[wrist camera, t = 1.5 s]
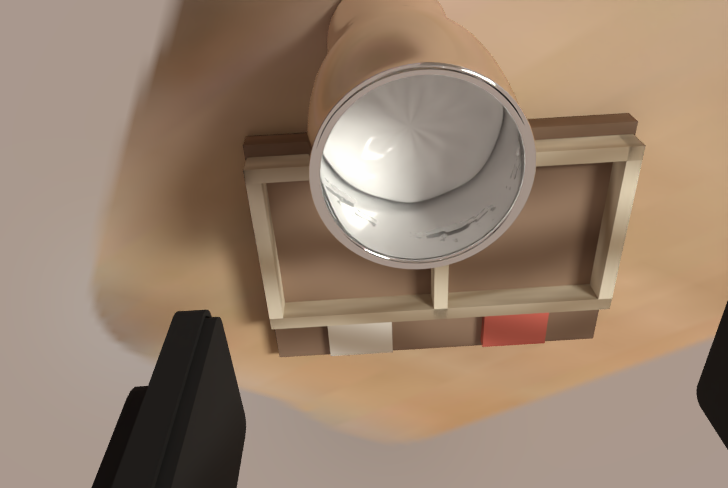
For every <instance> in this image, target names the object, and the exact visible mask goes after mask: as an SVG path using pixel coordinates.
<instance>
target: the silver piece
mask: <svg viewBox="0 0 728 488" xmlns="http://www.w3.org/2000/svg"><path fill="white" fill-rule="evenodd" d="M327 50H328V53H327V55H326V57H325V59H324V60H323V62H322V64H321V66H320V68H319V70H318V73H317V75H316V78H315V81H314V85H313V89H312V93H311V98H310V103H309V109H308V126H307V142H308V157H309V185H310V191H311V195H312V199H313V202H314V205H315V207H316V210H317V212H318V214H319V216H320V218H321V219H322V221H323V223H324V224H325V226H326V227H327V228H328V230H329V231H330V232H331V233H332V234H333V235H334V237H335V238H336V239H337V240H338V241H340V242H341V243H342V244H343V245H344V246H346V247H347V248H348V249H350V250H351V251H353V252H354V253H356V254H358V255H359V256H361V257H363V258H365V259H367V260H370V261H372V262H375V263H378V264H381V265H385V266H389V267H394V268H401V269H429V268H436V267H441V266H446V265H449V264H453V263H456V262H459V261H461V260H464V259H466V258H468V257H470V256H473V255H474V254H476V253H478V252H480V251H481V250H483V249H485V248H486V247H488V246H489V245H490V244H492V243H493V242H494V241H496V240H497V239H498V238H499V237H500V236H501V235H502V234H503V233H504V232H505V231H506V230H507V229H508V228H509V227H510V226H511V225H512V224H513V222H514V221H515V220H516V218H517V217H518V215H519V214H520V212H521V211H522V209H523V207H524V206H525V204H526V202H527V199H528V197H529V195H530V192H531V189H532V186H533V182H534V178H535V172H536V146H535V140H534V136H533V132H532V129H531V126H530V124H529V121H528V119H527V117H526V115H525V113H524V112H523V110H522V108H521V107H520V105H519V103H518V101H517V99H516V96H515V94H514V92H513V90H512V88H511V86H510V84H509V82H508V80H507V78H506V76H505V75H504V73H503V71H502V70H501V68H500V67H499V65H498V63H497V62H496V60H495V59H494V57H493V56H492V55H491V53H490V52H489V51H488V50H487V49H486V48H485V47H484V46H483V44H482V43H481V42H480V41H479V40H478V39H477V38H476V37H475V36H474V35H473V34H472V33H471V32H469V31H468V30H467V29H466V28H464V27H463V26H461V25H460V24H458V23H456V22H455V21H453V20H451V19H449V18H447V17H446V14H445V12H444V10H443V8H442V6H441V4H440V3H439V1H438V0H342V1H341V2H340V3H339V5H338V6H337V8H336V9H335V11H334V13H333V15H332V18H331V21H330V24H329V28H328V34H327Z"/></svg>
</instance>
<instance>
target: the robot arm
mask: <svg viewBox="0 0 728 488" xmlns="http://www.w3.org/2000/svg"><path fill="white" fill-rule="evenodd" d="M697 399H698V402H699V405H700V407H701V409H702V410H703V412H704V413H705V415H706V416H707V418H708V419H709V421H710V423H711V424H712V426H713V427H714V429H715V430H716V432H717V434H718V435H719V437H720V438H721V440H722V441H723V443H724V444H725V446H726V448H727V449H728V301H727V304H726V307H725V310H724V313H723V315H722V318H721V321H720V324H719V327H718V329H717V332H716V335H715V338H714V341H713V343H712V346H711V349H710V352H709V355H708V358H707V360H706V363H705V366H704V369H703V371H702V375H701V377H700V380H699V383H698V385H697ZM245 433H246V419H245V413H244V409H243V405H242V401H241V397H240V393H239V388H238V384H237V380H236V376H235V372H234V368H233V364H232V360H231V356H230V352H229V348H228V344H227V340H226V336H225V332H224V328H223V324H222V320H221V318H220V317H212V316H211V314H210V312H209V310H194V311H178V312H176V313H175V315H174V316H173V319H172V322H171V324H170V327H169V330H168V333H167V336H166V338H165V341H164V344H163V347H162V349H161V352H160V355H159V358H158V360H157V363H156V366H155V369H154V371H153V374H152V377H151V380H150V382H149V386H140V387H134V388H133V389H132V390H131V391H130V393H129V396H128V397H127V399H126V402H125V404H124V407H123V409H122V412H121V414H120V417H119V419H118V422H117V425H116V427H115V430H114V432H113V435H112V437H111V440H110V442H109V445H108V448H107V450H106V452H105V455H104V457H103V460H102V463H101V465H100V468H99V470H98V473H97V475H96V478H95V480H94V483H93V486H92V488H237V482H238V476H239V470H240V464H241V458H242V451H243V446H244V440H245Z"/></svg>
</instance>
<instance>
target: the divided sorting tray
mask: <svg viewBox="0 0 728 488" xmlns="http://www.w3.org/2000/svg"><path fill="white" fill-rule="evenodd" d="M528 121H529V124H530V126H531V129H532V132H533V136H534V140H535V146H536V172H535V178H534V182H533V186H532V189H531V192H530V195H529V197H528V199H527V202H526V204H525V206H524V207H523V209H522V211H521V212H520V214H519V215H518V217H517V218H516V220H515V221H514V222H513V224H512V225H511V226H510V227H509V228H508V229H507V230H506V231H505V232H504V233H503V234H502V235H501V236H500V237H499V238H498V239H497V240H496V241H494V242H493V243H492V244H490V245H489V246H488V247H486V248H485V249H483V250H481V251H480V252H478V253H476V254H474V255H473V256H470V257H468V258H466V259H464V260H461V261H459V262H456V263H453V264H449V265H446V266H441V267H436V268H429V269H401V268H394V267H389V266H385V265H381V264H378V263H375V262H372V261H370V260H367V259H365V258H363V257H361V256H359V255H358V254H356V253H354V252H353V251H351V250H350V249H348V248H347V247H346V246H344V245H343V244H342V243H341V242H340V241H338V240H337V239H336V238H335V237H334V235H333V234H332V233H331V232H330V231H329V230H328V228H327V227H326V226H325V224H324V223H323V221H322V219H321V218H320V216H319V214H318V212H317V210H316V207H315V205H314V202H313V199H312V195H311V191H310V185H309V157H308V142H307V133H294V134H278V135H261V136H246V138H245V141H244V144H243V148H244V154H245V160H246V162H245V166H244V169H243V172H244V178H245V184H246V189H247V195H248V200H249V206H250V212H251V217H252V223H253V229H254V234H255V240H256V245H257V251H258V257H259V262H260V268H261V273H262V279H263V285H264V290H265V296H266V302H267V307H268V313H269V318H270V324H271V329H275V333H276V338H277V344H278V350H279V356H280V357H292V356H308V355H325V354H331V356H339V355H356V354H372V353H389V352H393V350H407V349H424V348H440V347H457V346H474V345H482V347H488V346H504V345H521V344H537V343H545V341H556V340H573V339H589V338H593V336H594V331H595V326H596V321H597V316H598V311H599V310H600V309H610V305H611V301H612V296H613V291H614V287H615V282H616V278H617V273H618V269H619V264H620V260H621V255H622V251H623V246H624V241H625V237H626V232H627V228H628V223H629V219H630V214H631V210H632V205H633V200H634V196H635V191H636V187H637V182H638V178H639V173H640V169H641V164H642V160H643V155H644V150H645V145H644V144H643V143H642V142H641V141H640V140H639V139H638V138H637V137H636V136H635V133H636V128H637V123H638V121H637V120H636V119H635V118H634V117H632V116H631V115H630V114H629V113H623V114H606V115H590V116H573V117H557V118H541V119H528Z"/></svg>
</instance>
